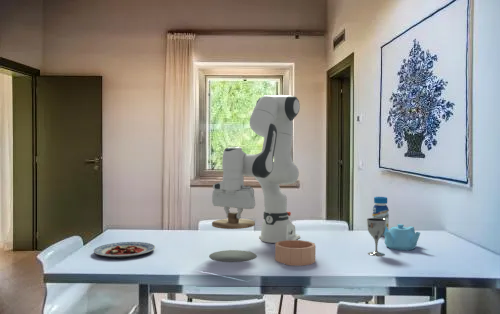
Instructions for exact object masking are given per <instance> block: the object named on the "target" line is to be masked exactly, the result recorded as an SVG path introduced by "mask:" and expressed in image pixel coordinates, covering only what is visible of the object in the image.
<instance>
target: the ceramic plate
mask: <svg viewBox="0 0 500 314" xmlns="http://www.w3.org/2000/svg"><path fill="white" fill-rule="evenodd" d="M155 249H156V245H155V244H154V243H150V242H145V241H122V242H121V241H119V242H113V243H108V244H104V245H99V246H97V247H95V248H94V249H93V253H94V254H96V255H98V256H103V257H109V258H115V257H117V258H120V259H122V258H131V257H133V258H134V257H137V256H140V255H143V254H147V253H150V252H153V251H154V250H155Z"/></svg>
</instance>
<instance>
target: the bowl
mask: <svg viewBox="0 0 500 314" xmlns="http://www.w3.org/2000/svg"><path fill="white" fill-rule="evenodd" d="M274 244H275V245H274V246H275V247H274V248H275V250H274V251H275V252H274V253H275V257H274V258H275V259H274V260H275V261H276V262H278V263H280V264H284V265H286V266H298V267H299V266H301V267H302V266H309V265H313V264H315V263H316V244H315V243H314V242H312V241H307V240H301V239H297V240H284V241H279V242H276V243H274Z"/></svg>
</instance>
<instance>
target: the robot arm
mask: <svg viewBox="0 0 500 314" xmlns="http://www.w3.org/2000/svg"><path fill="white" fill-rule="evenodd" d="M300 106H301V104H300V101H299V99H298V97H297V96H295V95H286V94H285V95H284V94H279V95H278V94H277V95H269V94H267V95H263V96H261V97H259V98H258V99H257V101H256V103H255V106H254V108H253V110H252V113H251V115H250V118H249V126H250V128H251V130H252V131H253V133H255V134H256V135H258V136H259V137H263V143H262V148H261V149H262V150H261V152H259V153H256V154H255V153H246V152H244V151H243V149H242V147H241V146H238V145H237V146H236V145H235V146H228V147H226V148H225V149H224V150H223V153H222V158H221V159H222V162H221V164H222V172H223V174H222V181H219V182H216V183H214V184H213V185H212V189H213V190H212V194H211V195H212V197H211V200H212V201H211V203H212V205H213V206H214V207H222V208H223V210H224V212H225V214H226V219H228V213H230V209H232V208H233V209H236V210H237V212H238V213H237V214H236V215H235V216H236V217H235V218H236V219H242V218H241V217H242V216H241V214H242V213H243V211H244V210H253V209H254V208H255V207H256V199H255V198H256V197H255V189H254V188H253V187H252V186H250V185H245V182H244V177H252V178H253V177H254V178H255V180H256V181H257V182H258V183H259V185H260V187H261V190H262V193H263V201H264V204H263V205H264V206H263V207H264V211H263V221H262V222H261V231H260V235H259V236H258V238H259V239H260V240H261V241H262V242H265V243H269V244H270V243H272V244H273V243H274V244H276V242H279V241H284V240H299V239H300V238H301V235H300V234H297V233H296V226H295V225H294V223H293V222H292V221H291V220H289V218H290V216H292V212H291V211H288V209H287V207H288V206H287V205H288V204H287V203H288V202H287V201H288V198H287V195H286V193H284V192H283V191H282V189H281V187H280V185H284V186H285V185H292V184H295V183H297V181H298V179H299V176H300V171H299V168H298V166H297V165H296V164H295V162H294V160H293V158H292V154H291V149H292V139H293V131H294V127H293V126H294V123H293V121H294V119H295V118H296V117H297V115H298V114H299V112H300Z"/></svg>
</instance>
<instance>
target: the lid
mask: <svg viewBox="0 0 500 314" xmlns="http://www.w3.org/2000/svg"><path fill="white" fill-rule="evenodd" d="M237 213H238V211H237V212H236V211H232V212H230V213H228V218H223V219H216V220H214V221H212V222H211V226H212V227H213V228H217V229H224V230H240V229H247V228H252V227H254V226H255V225H256V222H255V221H256V220H252V219H249V218H248V219H247V218H240V219H236V218H235V217H236V216H235V215H236V214H237Z"/></svg>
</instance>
